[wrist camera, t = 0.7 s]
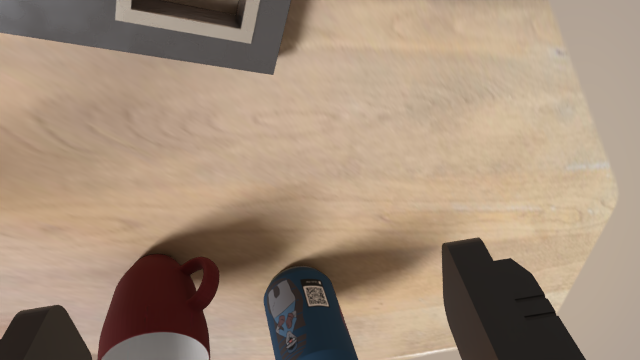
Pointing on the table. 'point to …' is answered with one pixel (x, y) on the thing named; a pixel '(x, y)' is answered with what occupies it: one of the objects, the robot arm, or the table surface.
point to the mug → (159, 311)
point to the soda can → (306, 317)
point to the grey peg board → (157, 29)
